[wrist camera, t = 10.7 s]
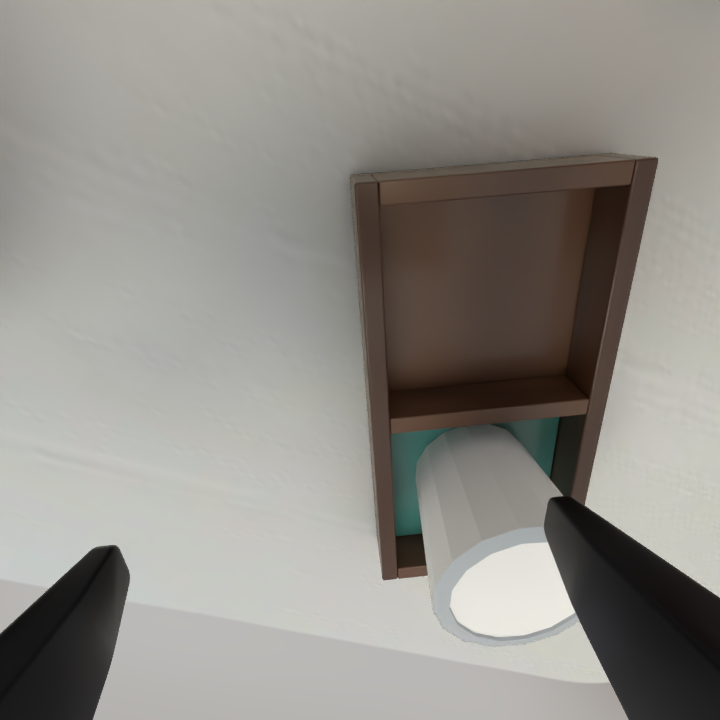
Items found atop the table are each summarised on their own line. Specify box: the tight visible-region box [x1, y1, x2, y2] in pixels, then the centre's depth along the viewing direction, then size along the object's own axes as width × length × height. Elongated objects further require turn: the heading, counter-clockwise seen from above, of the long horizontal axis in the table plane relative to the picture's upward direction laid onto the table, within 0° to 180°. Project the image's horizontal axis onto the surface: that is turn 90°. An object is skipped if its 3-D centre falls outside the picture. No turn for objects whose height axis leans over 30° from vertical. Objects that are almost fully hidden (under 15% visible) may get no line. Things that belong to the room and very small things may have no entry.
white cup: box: [416, 424, 580, 647], centre depth 20 cm, size 7×7×7 cm
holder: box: [350, 153, 658, 580], centre depth 20 cm, size 10×19×3 cm, turn 4°
